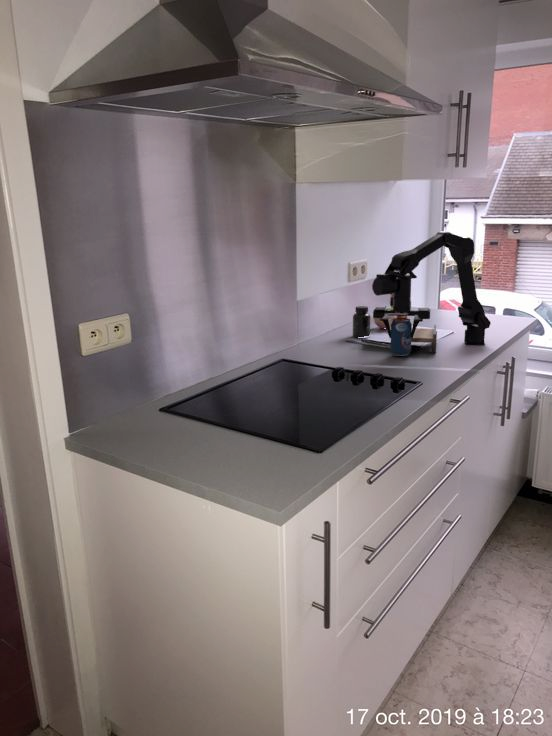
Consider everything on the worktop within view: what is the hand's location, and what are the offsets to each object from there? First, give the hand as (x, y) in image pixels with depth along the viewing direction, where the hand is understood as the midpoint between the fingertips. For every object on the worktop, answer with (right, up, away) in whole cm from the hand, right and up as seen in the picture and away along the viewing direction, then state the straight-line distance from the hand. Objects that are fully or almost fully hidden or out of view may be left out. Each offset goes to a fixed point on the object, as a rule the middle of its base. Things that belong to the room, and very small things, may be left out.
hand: (401, 338), depth 211 cm
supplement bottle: (-9, +2, +31) cm, 32 cm away
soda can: (0, -6, +2) cm, 6 cm away
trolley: (+9, -3, +12) cm, 15 cm away
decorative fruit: (+2, +5, +42) cm, 42 cm away
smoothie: (+12, +11, +61) cm, 63 cm away
